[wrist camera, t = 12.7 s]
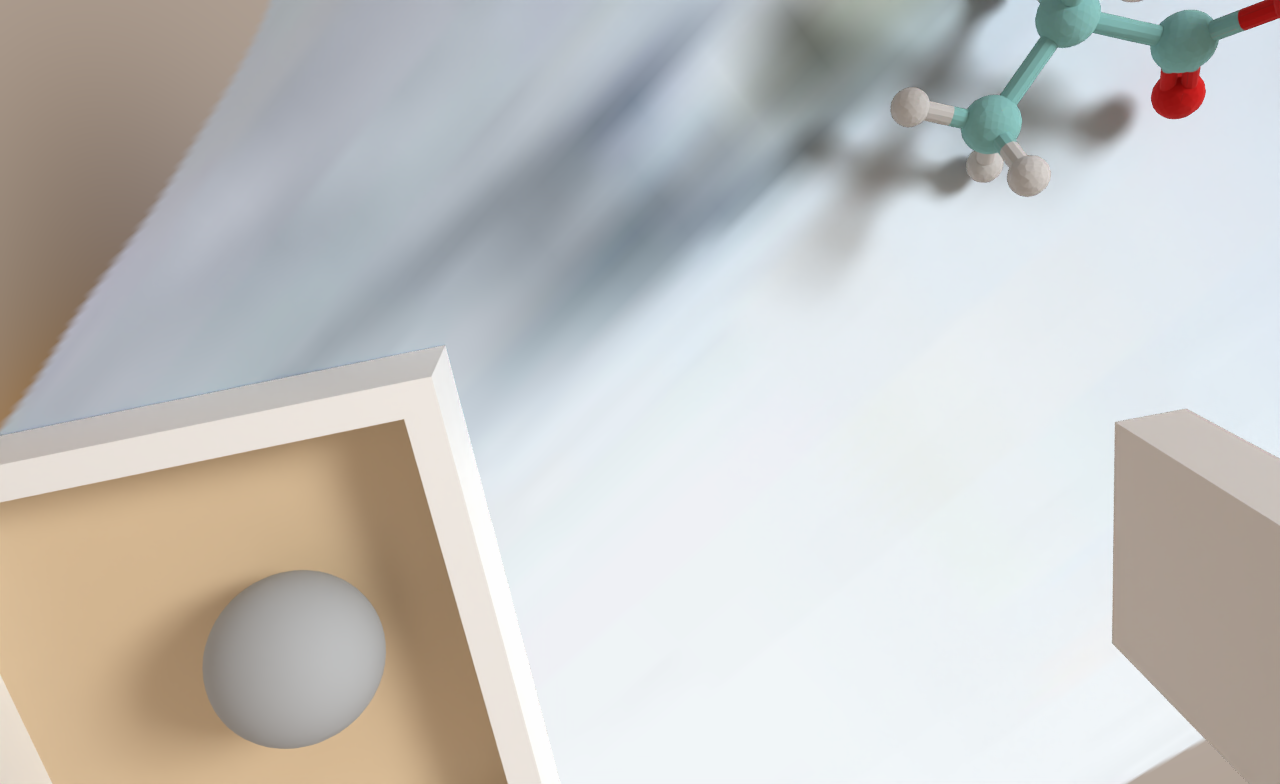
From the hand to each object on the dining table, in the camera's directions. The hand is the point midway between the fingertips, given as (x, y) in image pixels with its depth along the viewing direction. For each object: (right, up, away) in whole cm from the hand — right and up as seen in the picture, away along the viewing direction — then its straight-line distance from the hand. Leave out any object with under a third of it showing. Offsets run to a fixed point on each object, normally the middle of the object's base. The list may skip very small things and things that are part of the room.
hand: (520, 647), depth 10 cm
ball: (-13, -8, +24) cm, 28 cm away
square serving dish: (-14, -7, +26) cm, 30 cm away
